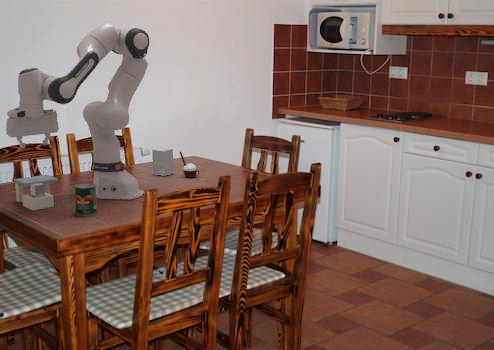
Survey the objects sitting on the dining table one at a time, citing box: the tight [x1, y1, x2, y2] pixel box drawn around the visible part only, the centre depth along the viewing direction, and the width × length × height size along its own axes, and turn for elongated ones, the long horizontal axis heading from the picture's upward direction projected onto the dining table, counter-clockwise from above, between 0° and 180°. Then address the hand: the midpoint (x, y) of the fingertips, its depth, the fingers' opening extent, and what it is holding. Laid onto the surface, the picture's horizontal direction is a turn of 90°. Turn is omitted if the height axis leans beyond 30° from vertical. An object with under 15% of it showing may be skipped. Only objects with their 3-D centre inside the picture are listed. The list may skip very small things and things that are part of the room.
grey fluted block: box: [151, 147, 174, 177], centre depth 320 cm, size 7×7×13 cm
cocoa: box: [179, 151, 200, 178], centre depth 316 cm, size 10×6×12 cm, turn 57°
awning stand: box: [13, 174, 59, 211], centre depth 266 cm, size 18×15×9 cm
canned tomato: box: [74, 182, 98, 217], centre depth 252 cm, size 8×8×11 cm
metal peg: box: [29, 183, 45, 198], centre depth 261 cm, size 4×4×9 cm
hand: (34, 146), depth 258 cm, fingers open, 8 cm apart
